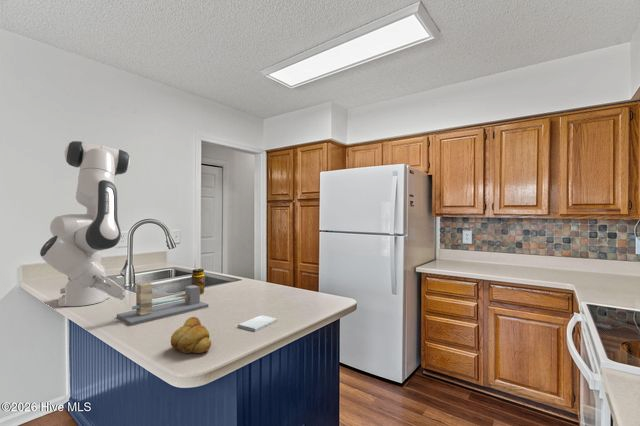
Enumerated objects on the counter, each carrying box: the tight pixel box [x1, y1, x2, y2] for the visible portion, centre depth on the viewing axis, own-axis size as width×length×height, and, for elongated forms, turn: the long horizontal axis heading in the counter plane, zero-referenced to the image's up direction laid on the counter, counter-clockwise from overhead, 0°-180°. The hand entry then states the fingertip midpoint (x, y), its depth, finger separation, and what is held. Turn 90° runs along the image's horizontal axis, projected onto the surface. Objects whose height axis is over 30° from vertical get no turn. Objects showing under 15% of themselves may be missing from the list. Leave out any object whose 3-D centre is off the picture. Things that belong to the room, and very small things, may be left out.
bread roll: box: [170, 316, 212, 354], centre depth 93 cm, size 13×10×8 cm
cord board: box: [116, 285, 209, 327], centre depth 127 cm, size 14×30×8 cm, turn 140°
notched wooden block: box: [135, 281, 153, 315], centre depth 121 cm, size 4×4×11 cm
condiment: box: [190, 268, 207, 296], centre depth 156 cm, size 7×8×12 cm
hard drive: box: [237, 314, 278, 332], centre depth 114 cm, size 2×8×12 cm
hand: (122, 297), depth 115 cm, fingers closed
